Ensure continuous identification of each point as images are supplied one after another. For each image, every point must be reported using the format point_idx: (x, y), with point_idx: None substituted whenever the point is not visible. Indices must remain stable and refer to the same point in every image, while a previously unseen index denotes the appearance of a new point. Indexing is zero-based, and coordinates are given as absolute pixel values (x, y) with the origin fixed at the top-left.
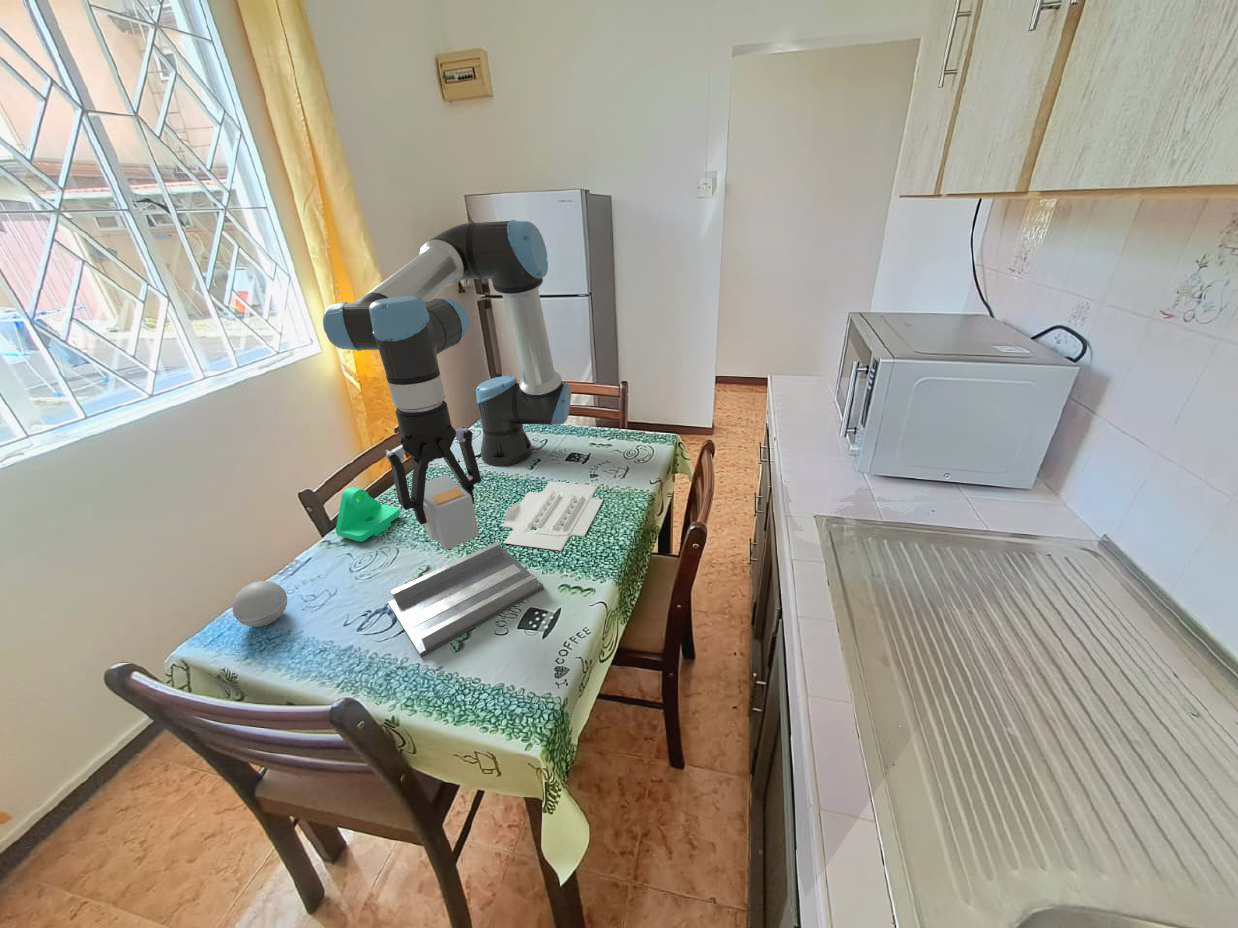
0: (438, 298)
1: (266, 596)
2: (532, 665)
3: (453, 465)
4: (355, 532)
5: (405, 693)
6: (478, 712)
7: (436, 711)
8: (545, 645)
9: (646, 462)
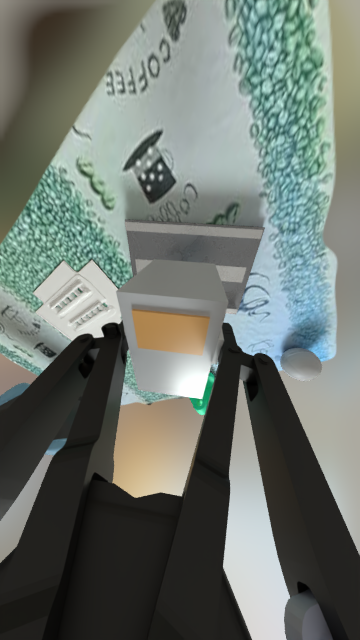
0: None
1: (305, 364)
2: (196, 85)
3: (97, 412)
4: (211, 380)
5: (305, 188)
6: (292, 54)
7: (313, 119)
8: (165, 112)
9: None
